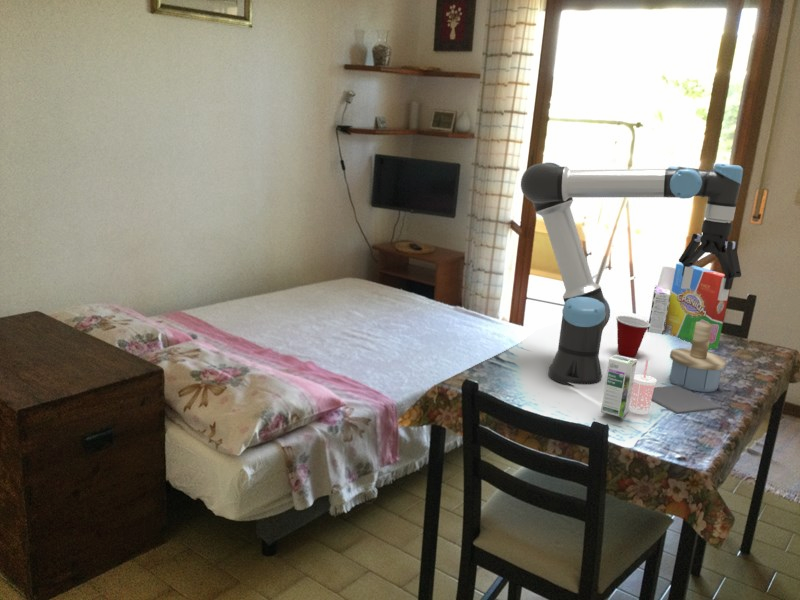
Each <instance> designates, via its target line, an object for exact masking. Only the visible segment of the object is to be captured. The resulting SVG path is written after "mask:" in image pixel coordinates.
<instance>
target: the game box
mask: <svg viewBox="0 0 800 600" xmlns="http://www.w3.org/2000/svg"><path fill="white" fill-rule="evenodd" d="M683 267H684V266H683V264H682V263H680V262H679V263H676V265H675V268H676V269H675V274H674V280H673V285H672V291H671V296H670V302H669V307H668V312H667V317H666V323H665V327H664V333H666V334H667V335H670V336H672V337H675V338H678V339H679V338H680V340H681V341H682V340H683V341H684V340H685V341H684V342H687V343H689V342H690V343H689V344H692V342H693V336H694V331H695V325H696V322H699V321H700V322H707V323H710V324H712V330H711V336H710V341H709V346H708V350H711V349H710V348H716V347H718V348H719V345H720V344H719V343H720V338H721V333H722V329H723V324H724V319H725V315H726V314H725V313H726V309H727V304H728V300H729V295H730V290H729V293H728V298H727V301H719V300H718V296H719V291H720V286H721V281H722V277H724V276H725V274H724V272H719V271H714V270H711V269H707V268H704V267H701V266H697V265H695V264H693V266H690V267H694V270H693V275H692V280H691V285H690V289H682V288H681V285H682V280H683V276H682V273H683Z"/></svg>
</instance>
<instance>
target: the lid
mask: <svg viewBox="0 0 800 600" xmlns="http://www.w3.org/2000/svg"><path fill="white" fill-rule="evenodd" d="M711 330H712V324H710V323H707V322H700V321H699V322H696V325H695V331H694V336H693V342H692V343H691V347H690V348H674V349H671V351H670V354H669V358H670V359H671V360H672V361H675V362H677V363H679V364H682V365H685V366H688V367H692V368H697V369H703V370H721V369H722V370H724V369H725V368H726V365H727V360H726V358H723V356H720V355H718V354H716V353H712V352H709V351H708V350H709V349H708V346H709V341H710V336H711ZM722 370H721V371H722Z"/></svg>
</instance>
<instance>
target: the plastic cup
mask: <svg viewBox="0 0 800 600" xmlns="http://www.w3.org/2000/svg"><path fill="white" fill-rule="evenodd" d="M615 319H616V326H617V327H616V328H617V353H618V354H617V355H620V356H624V357H628V358H635V357H637V355H638V352H639V349H640V347H641V344H642V342H643V339H644V337H645V334H646V332H647V331H648V327H650V324H649V321H646V320H645V319H641V318H638V317H635V316H634V317H633V316H629V315H618V316H616V318H615Z"/></svg>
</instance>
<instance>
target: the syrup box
mask: <svg viewBox="0 0 800 600" xmlns="http://www.w3.org/2000/svg"><path fill="white" fill-rule="evenodd" d="M637 363H638V358H637V359H636V358H633V357H625V356H621V355H619V354H614V355H612V356H611V357H610V358H609V359H608V363H607V370H606V376H605V377H606V378H605V384H604V390H603V397H602V404H601V409H600V412H601V413H603V414H604V413H605V414H608V415H611V416H616V417H619V418H621V419H623V418H624V417H625V415H627V413H629V411H630V399H631V393H632V387H633V381H634V375H635V374H636V367H637Z"/></svg>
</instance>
